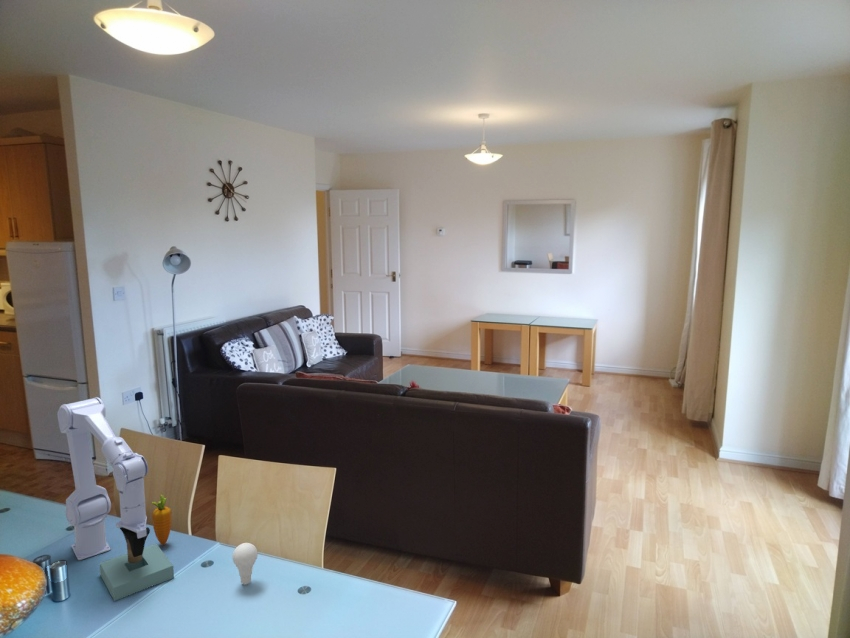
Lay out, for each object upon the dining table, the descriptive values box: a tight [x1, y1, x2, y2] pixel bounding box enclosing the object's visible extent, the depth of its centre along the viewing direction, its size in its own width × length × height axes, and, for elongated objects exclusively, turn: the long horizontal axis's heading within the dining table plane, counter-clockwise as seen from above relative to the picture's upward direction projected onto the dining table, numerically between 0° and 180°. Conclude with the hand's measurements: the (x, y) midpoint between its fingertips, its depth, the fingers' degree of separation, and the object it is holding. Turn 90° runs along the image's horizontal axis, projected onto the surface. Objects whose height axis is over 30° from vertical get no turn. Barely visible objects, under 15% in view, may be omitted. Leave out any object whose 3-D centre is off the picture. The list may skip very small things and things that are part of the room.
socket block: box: [99, 543, 175, 602], centre depth 142 cm, size 14×14×4 cm
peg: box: [126, 538, 143, 563], centre depth 141 cm, size 3×3×7 cm
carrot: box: [151, 494, 172, 547], centre depth 156 cm, size 5×5×15 cm
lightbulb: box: [232, 542, 258, 585], centre depth 139 cm, size 6×6×11 cm
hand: (135, 552), depth 141 cm, fingers closed on peg, 3 cm apart
